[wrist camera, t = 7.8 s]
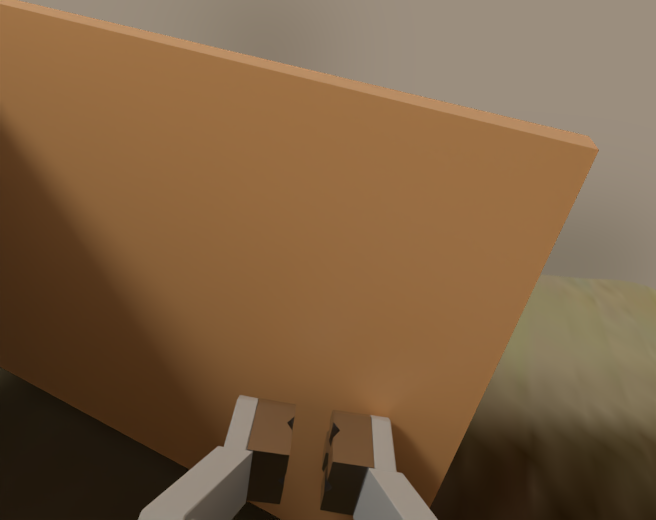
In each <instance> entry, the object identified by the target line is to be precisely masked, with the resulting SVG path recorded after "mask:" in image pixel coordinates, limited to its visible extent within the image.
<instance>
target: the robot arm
mask: <svg viewBox="0 0 656 520" xmlns="http://www.w3.org/2000/svg"><path fill="white" fill-rule="evenodd" d="M295 410H296V404H290V403H285V402H279V401H274V400H268V399H262V398H255V397H249V396H243V395H240V396H239V397H238V399H237V402H236V406H235V409H234V413H233V416H232V420H231V423H230V427H229V430H228V434H227V437H226V440H225V444H224V447H221V446H217V447H216V448H215V449H214V450H213V451H211V452H210V453H209V454H208V455H207V456H206V457H204V458H203V459H202V460H201V461H200V462H198V463H197V464H196V465H195V466H194V467H193V468H191V469H190V470H189V471H188V472H187V473H185V474H184V475H183V476H182V477H181V478H179V479H178V480H177V481H176V482H175V483H174V484H172V485H171V486H170V487H169V488H168V489H166V490H165V491H164V492H163V493H162V494H160V495H159V496H158V497H157V498H156V499H155V500H153V501H152V502H151V503H150V504H149V505H147V506H146V507H145V508H144V509H143V510H142V511H141V514H140V516H139V518H138V520H232V519H233V517H234V516H235V515H236V514H237V513H238V512H239V510H240V509H241V508H242V507H243V506H244V504H245V503H246V501H254V502H263V503H272V504H280V502H281V497H282V492H283V487H284V480H285V475H286V472H287V466H288V461H289V455H290V448H291V441H292V434H293V431H292V429H293V423H294V418H295ZM322 470H323V472H324V475H323V479H322V483H321V497H320V510H323V511H329V512H334V513H340V514H346V515H352V516H353V519H354V520H438V519H437V518H436V516H435V515H434V514H433V513H432V511H431V510H430V509H429V507H428V506H427V505H426V503H425V502H424V501H423V499H422V498H421V497H420V495H419V494H418V493H417V491H416V490H415V489H414V488H413V486H412V485H411V484H410V482H409V481H408V480H407V478H406V477H405V476H404V474H403V473H399V472H397V469H396V461H395V453H394V445H393V436H392V428H391V421H390V419H389V418H388V417H381V416H374V415H367V414H360V413H353V412H346V411H339V410H333V411H332V414H331V417H330V428H329V431H327V434H326V438H325V444H324V450H323V459H322Z"/></svg>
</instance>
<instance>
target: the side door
mask: <svg viewBox="0 0 656 520" xmlns="http://www.w3.org/2000/svg"><path fill="white" fill-rule="evenodd" d="M598 151H599V150H598V148H597V147H596V145H595V144H594V143H593V141H592V140H591V138H590V137H589V136H585V135H582V134H577V133H573V132H569V131H565V130H561V129H556V128H552V127H548V126H544V125H540V124H536V123H531V122H527V121H523V120H519V119H514V118H510V117H506V116H502V115H497V114H494V113H489V112H485V111H481V110H477V109H472V108H468V107H464V106H460V105H455V104H451V103H447V102H443V101H439V100H435V99H430V98H426V97H422V96H418V95H413V94H409V93H405V92H401V91H397V90H393V89H388V88H384V87H380V86H376V85H371V84H367V83H363V82H359V81H355V80H350V79H346V78H342V77H337V76H334V75H329V74H325V73H321V72H317V71H313V70H309V69H304V68H300V67H296V66H292V65H287V64H283V63H279V62H275V61H271V60H266V59H262V58H258V57H254V56H250V55H245V54H241V53H237V52H233V51H229V50H224V49H220V48H216V47H211V46H207V45H203V44H199V43H195V42H191V41H187V40H182V39H178V38H174V37H170V36H166V35H161V34H157V33H153V32H149V31H144V30H140V29H136V28H131V27H127V26H124V25H119V24H115V23H111V22H107V21H102V20H98V19H94V18H90V17H85V16H81V15H77V14H72V13H69V12H64V11H60V10H56V9H52V8H48V7H43V6H39V5H35V4H31V3H27V2H22V1H18V0H0V367H1V368H3V369H5V370H7V371H8V372H10V373H12V374H14V375H16V376H18V377H20V378H21V379H23V380H25V381H27V382H29V383H31V384H32V385H34V386H36V387H38V388H40V389H42V390H44V391H45V392H47V393H49V394H51V395H53V396H55V397H56V398H58V399H60V400H62V401H64V402H66V403H67V404H69V405H71V406H73V407H75V408H77V409H79V410H80V411H82V412H84V413H86V414H88V415H90V416H91V417H93V418H95V419H97V420H99V421H101V422H103V423H104V424H106V425H108V426H110V427H112V428H114V429H115V430H117V431H119V432H121V433H123V434H125V435H127V436H128V437H130V438H132V439H134V440H136V441H138V442H139V443H141V444H143V445H145V446H147V447H149V448H151V449H152V450H154V451H156V452H158V453H160V454H162V455H163V456H165V457H167V458H169V459H171V460H173V461H174V462H176V463H178V464H180V465H182V466H184V467H186V468H187V469H189V470H190V469H191V468H193V467H194V466H195V465H196V464H197V463H198V462H200V461H201V460H202V459H203V458H204V457H206V456H207V455H208V454H209V453H210V452H211V451H213V450H214V449H215V448H216V447H217V446H221V447H224V444H225V440H226V437H227V434H228V430H229V427H230V423H231V420H232V416H233V413H234V409H235V406H236V402H237V399H238V397H239V396H240V395H243V396H249V397H255V398H262V399H268V400H274V401H279V402H285V403H290V404H296V410H295V418H294V423H293V429H292V431H293V434H292V441H291V448H290V455H289V461H288V466H287V472H286V475H285V480H284V487H283V492H282V497H281V502H280V504H272V503H263V502H254V501H248V502H250V503H252V504H254V505H256V506H257V507H259V508H261V509H263V510H265V511H267V512H269V513H270V514H272V515H274V516H276V517H278V518H280V519H281V520H354V519H353V516H352V515H346V514H340V513H334V512H329V511H323V510H320V497H321V483H322V479H323V475H324V472H323V470H322V459H323V450H324V444H325V438H326V434H327V431H329V428H330V417H331V414H332V411H333V410H339V411H346V412H353V413H360V414H367V415H374V416H381V417H388V418H389V419H390V421H391V428H392V436H393V445H394V453H395V461H396V469H397V472H399V473H403V474H404V476H405V477H406V478H407V480H408V481H409V482H410V484H411V485H412V486H413V488H414V489H415V490H416V491H417V493H418V494H419V495H420V497H421V498H422V499H423V501H424V502H425V503H426V505H427V506H428V507H429V509H430V507H431V505H432V503H433V500H434V498H435V496H436V494H437V492H438V490H439V488H440V486H441V483H442V481H443V479H444V477H445V475H446V473H447V471H448V469H449V467H450V464H451V462H452V460H453V458H454V456H455V454H456V452H457V450H458V447H459V445H460V443H461V441H462V439H463V437H464V435H465V433H466V431H467V428H468V426H469V424H470V422H471V420H472V418H473V416H474V414H475V411H476V409H477V407H478V405H479V403H480V401H481V399H482V397H483V395H484V392H485V390H486V388H487V386H488V384H489V382H490V380H491V378H492V375H493V373H494V371H495V369H496V367H497V365H498V363H499V361H500V359H501V356H502V354H503V352H504V350H505V348H506V346H507V344H508V342H509V339H510V337H511V335H512V333H513V331H514V329H515V327H516V325H517V323H518V320H519V318H520V316H521V314H522V312H523V310H524V308H525V306H526V303H527V301H528V299H529V297H530V295H531V293H532V291H533V289H534V287H535V284H536V282H537V280H538V278H539V276H540V274H541V272H542V269H543V267H544V265H545V263H546V261H547V259H548V257H549V255H550V253H551V251H552V248H553V246H554V244H555V242H556V240H557V238H558V235H559V234H560V231H561V229H562V227H563V225H564V223H565V221H566V219H567V216H568V214H569V212H570V210H571V208H572V206H573V204H574V202H575V199H576V198H577V195H578V193H579V191H580V189H581V187H582V185H583V183H584V180H585V178H586V176H587V174H588V172H589V170H590V168H591V166H592V164H593V161H594V159H595V157H596V155H597V153H598Z"/></svg>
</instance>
